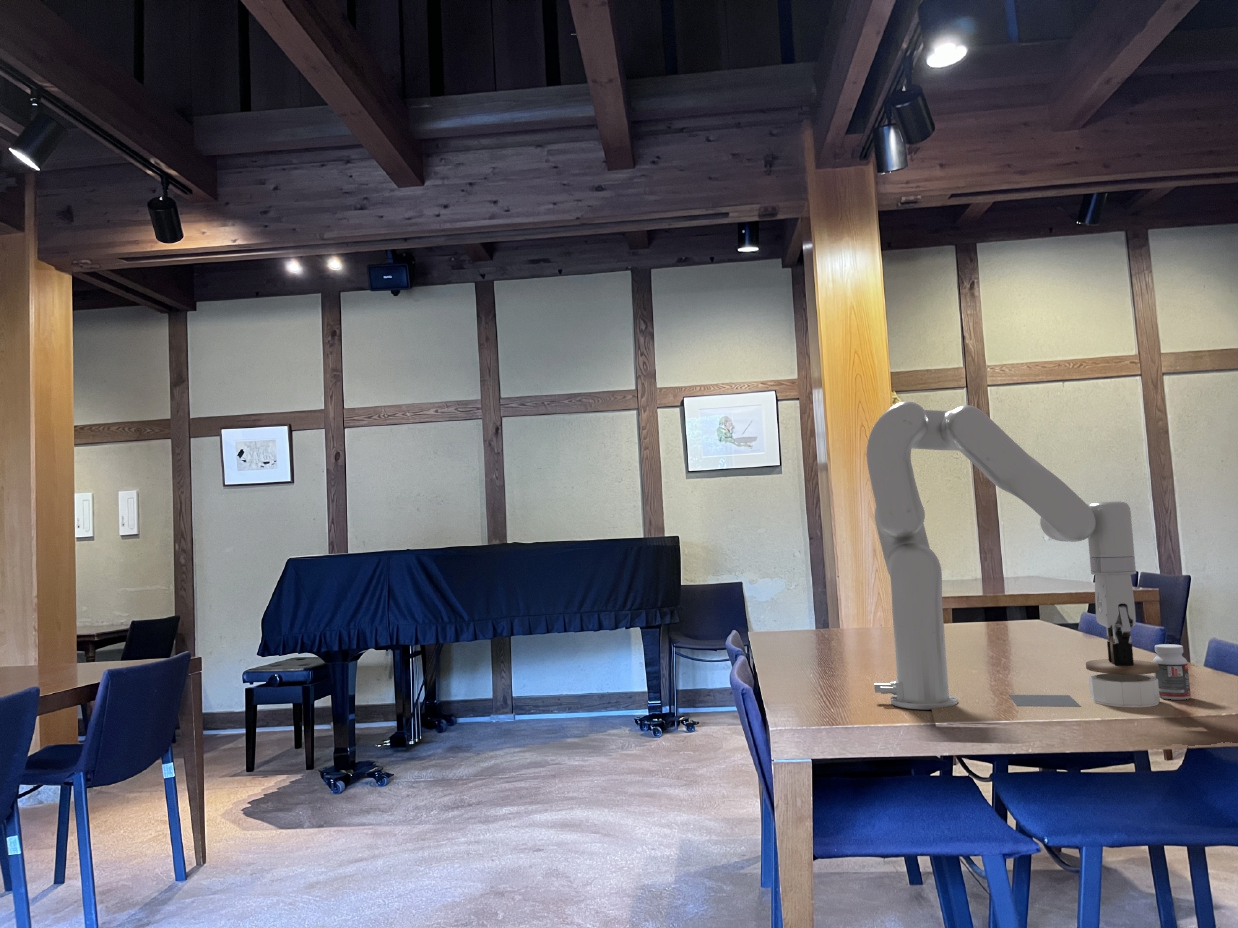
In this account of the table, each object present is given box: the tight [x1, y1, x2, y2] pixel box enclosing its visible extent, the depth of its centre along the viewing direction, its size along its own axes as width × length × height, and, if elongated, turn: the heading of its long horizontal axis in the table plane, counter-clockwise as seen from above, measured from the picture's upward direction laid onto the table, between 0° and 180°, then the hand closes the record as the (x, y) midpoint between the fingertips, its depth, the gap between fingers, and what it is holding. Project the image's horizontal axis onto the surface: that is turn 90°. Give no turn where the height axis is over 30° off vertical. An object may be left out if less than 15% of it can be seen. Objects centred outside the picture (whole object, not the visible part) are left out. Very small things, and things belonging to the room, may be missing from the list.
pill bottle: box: [1152, 643, 1192, 701], centre depth 170 cm, size 6×6×10 cm
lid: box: [1085, 636, 1159, 675], centre depth 167 cm, size 12×12×6 cm
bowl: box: [1088, 672, 1161, 708], centre depth 166 cm, size 11×11×5 cm
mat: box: [1008, 694, 1082, 708], centre depth 170 cm, size 11×11×1 cm
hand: (1121, 662), depth 167 cm, fingers closed on lid, 3 cm apart
